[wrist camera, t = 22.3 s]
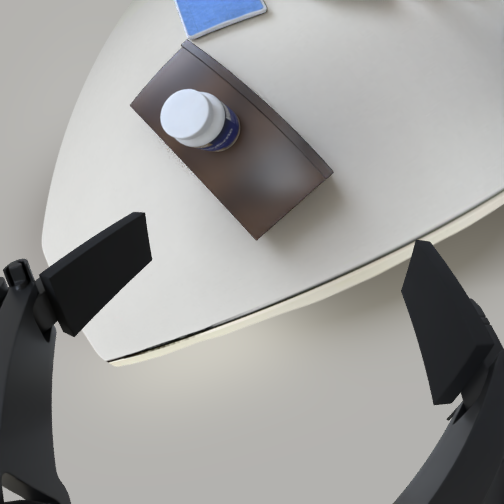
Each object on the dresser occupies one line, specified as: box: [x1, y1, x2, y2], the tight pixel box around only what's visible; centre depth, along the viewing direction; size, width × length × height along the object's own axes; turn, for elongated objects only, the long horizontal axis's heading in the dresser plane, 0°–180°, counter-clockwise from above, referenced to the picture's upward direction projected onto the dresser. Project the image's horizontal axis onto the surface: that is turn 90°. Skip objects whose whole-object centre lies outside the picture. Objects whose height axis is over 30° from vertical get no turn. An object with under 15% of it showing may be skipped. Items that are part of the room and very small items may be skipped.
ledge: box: [130, 40, 334, 240], centre depth 32 cm, size 26×12×5 cm, turn 45°
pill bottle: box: [160, 89, 240, 152], centre depth 26 cm, size 6×6×10 cm
